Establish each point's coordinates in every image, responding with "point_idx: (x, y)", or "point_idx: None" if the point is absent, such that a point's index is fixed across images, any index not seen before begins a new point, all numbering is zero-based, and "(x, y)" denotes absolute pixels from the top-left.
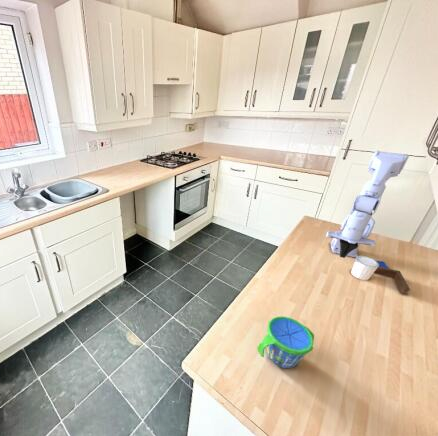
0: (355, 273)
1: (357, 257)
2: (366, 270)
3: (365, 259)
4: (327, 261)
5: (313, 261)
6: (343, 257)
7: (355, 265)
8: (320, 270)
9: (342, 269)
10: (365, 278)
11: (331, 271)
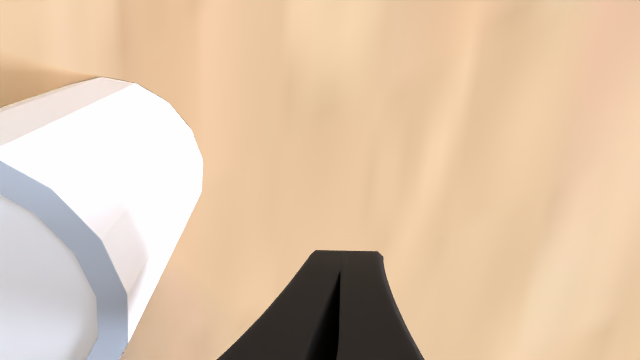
0: (157, 121)
1: (112, 338)
2: (2, 117)
3: (8, 331)
4: (442, 277)
5: (624, 209)
6: (326, 252)
7: (148, 199)
8: (573, 29)
9: (291, 188)
10: (58, 89)
11: (423, 80)
